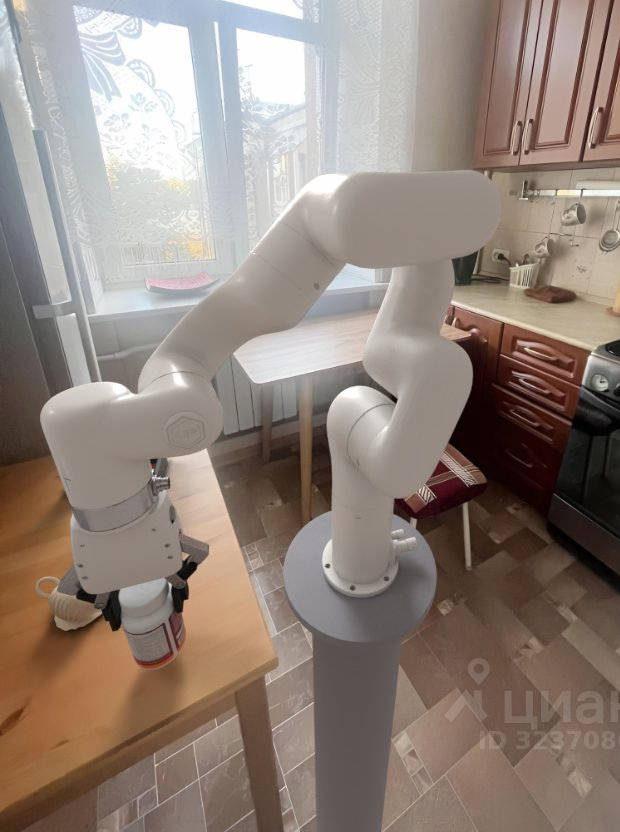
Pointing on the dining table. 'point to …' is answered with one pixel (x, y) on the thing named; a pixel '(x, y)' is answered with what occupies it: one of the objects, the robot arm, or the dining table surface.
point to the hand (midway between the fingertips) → (150, 609)
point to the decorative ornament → (68, 607)
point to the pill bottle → (152, 623)
